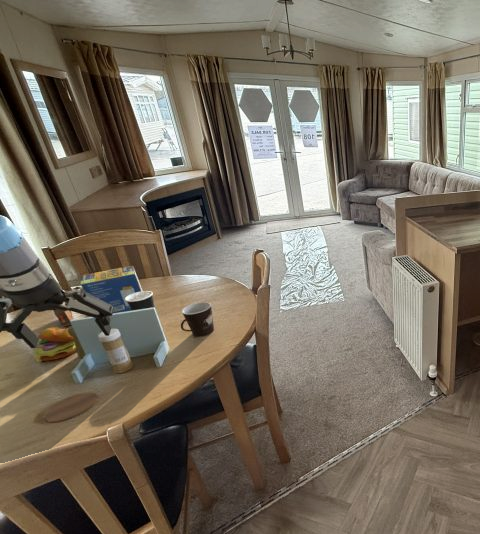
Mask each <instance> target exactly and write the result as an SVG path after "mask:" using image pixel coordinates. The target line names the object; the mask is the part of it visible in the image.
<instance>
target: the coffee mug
mask: <svg viewBox="0 0 480 534" xmlns="http://www.w3.org/2000/svg"><path fill="white" fill-rule="evenodd" d="M181 313H182V316H183V317H184V319H183V320H182V321H181V322H180V329H181V330H182V331H184V332H191V333H192V335H193V336H194V337H196V338H201V337H202V338H203V337H206V336H208V335H211V334H212V333H213V332H214V331H215V325H214V318H213V317H214V316H213V310H212V304H211V303H210V302H208V301H199V302H193V303H191V304H188V305H186V306H185V307H184V308H182V309H181ZM185 323H187V325H188V327H189V329H186V328H184V324H185Z"/></svg>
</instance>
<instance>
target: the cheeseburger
mask: <svg viewBox="0 0 480 534" xmlns="http://www.w3.org/2000/svg"><path fill="white" fill-rule="evenodd" d="M70 327H71V326H68V327H67V328H64V327H63V328H62V327H57V326H53V327H47V328H45V329H43V330H42V331H41V332H40V333H39V335H38V336H37V337H38V338H39V341H38V344H37V346H36V348H34V359H35V361H36V362H39V363H42V362H46V361H53V360H58V359H62V358H66V357H68V356H70V355H72V354H74V353H75V352H77V350H76V346H75V342H74V338H73V337H72V336H70V335H69V333H68V329H69V328H70Z"/></svg>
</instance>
